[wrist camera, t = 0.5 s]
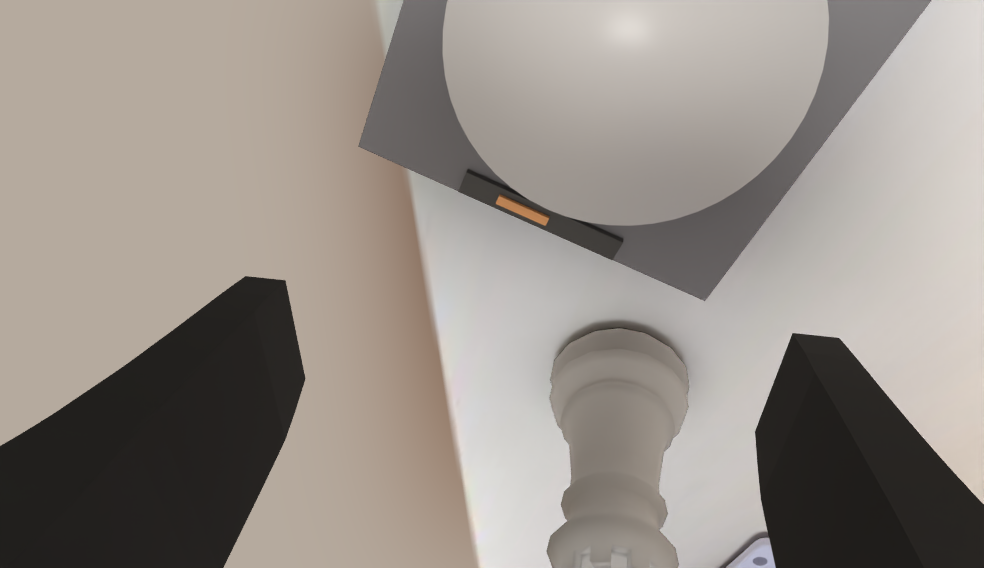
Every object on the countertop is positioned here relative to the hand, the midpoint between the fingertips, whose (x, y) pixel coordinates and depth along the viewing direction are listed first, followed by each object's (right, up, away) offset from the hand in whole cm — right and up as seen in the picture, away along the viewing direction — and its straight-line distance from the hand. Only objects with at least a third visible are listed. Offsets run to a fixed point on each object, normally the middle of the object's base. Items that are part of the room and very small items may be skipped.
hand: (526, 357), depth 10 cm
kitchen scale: (+3, +7, +7) cm, 11 cm away
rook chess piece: (+4, -2, +13) cm, 14 cm away
